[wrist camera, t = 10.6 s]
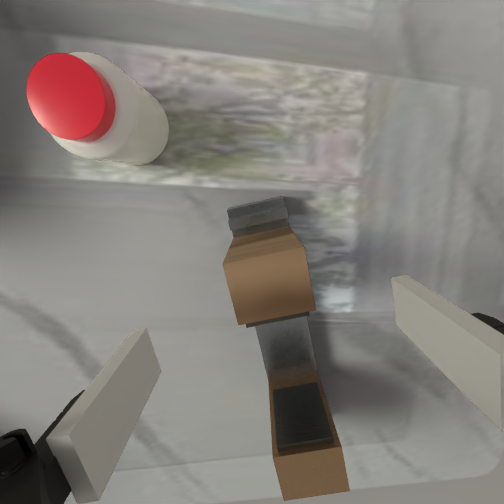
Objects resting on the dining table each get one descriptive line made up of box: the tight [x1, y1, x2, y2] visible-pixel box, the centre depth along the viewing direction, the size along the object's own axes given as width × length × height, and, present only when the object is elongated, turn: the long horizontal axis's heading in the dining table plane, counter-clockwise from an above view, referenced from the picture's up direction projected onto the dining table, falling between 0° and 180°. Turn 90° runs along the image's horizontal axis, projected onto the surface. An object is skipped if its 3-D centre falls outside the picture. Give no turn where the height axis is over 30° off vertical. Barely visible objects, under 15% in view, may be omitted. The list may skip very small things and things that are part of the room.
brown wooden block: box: [223, 226, 316, 328], centre depth 26 cm, size 6×6×10 cm
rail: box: [227, 196, 350, 501], centre depth 29 cm, size 29×6×12 cm, turn 13°
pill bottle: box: [27, 51, 169, 165], centre depth 25 cm, size 8×8×11 cm
